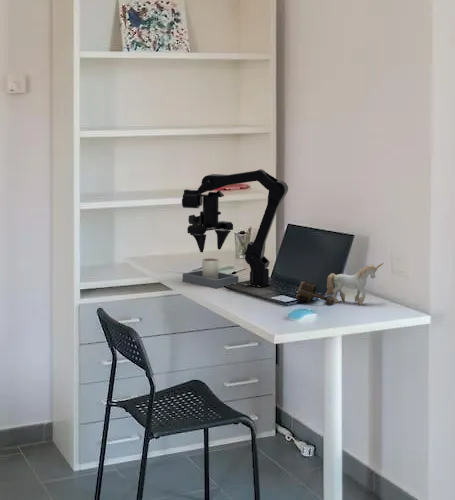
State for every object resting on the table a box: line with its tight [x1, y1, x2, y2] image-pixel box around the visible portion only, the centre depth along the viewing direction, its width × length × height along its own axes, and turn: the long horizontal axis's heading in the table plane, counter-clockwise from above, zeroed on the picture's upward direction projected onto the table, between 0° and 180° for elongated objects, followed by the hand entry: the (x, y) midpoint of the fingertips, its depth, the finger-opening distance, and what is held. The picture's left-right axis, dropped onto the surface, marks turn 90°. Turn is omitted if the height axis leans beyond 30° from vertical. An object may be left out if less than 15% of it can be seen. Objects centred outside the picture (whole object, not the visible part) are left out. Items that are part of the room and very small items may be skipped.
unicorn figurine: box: [324, 262, 384, 306], centre depth 297 cm, size 7×20×13 cm, turn 85°
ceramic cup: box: [201, 257, 219, 280], centre depth 328 cm, size 6×6×8 cm
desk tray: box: [182, 269, 239, 289], centre depth 329 cm, size 18×12×3 cm, turn 46°
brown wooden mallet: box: [295, 280, 335, 305], centre depth 297 cm, size 7×13×10 cm
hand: (210, 250), depth 327 cm, fingers open, 9 cm apart
